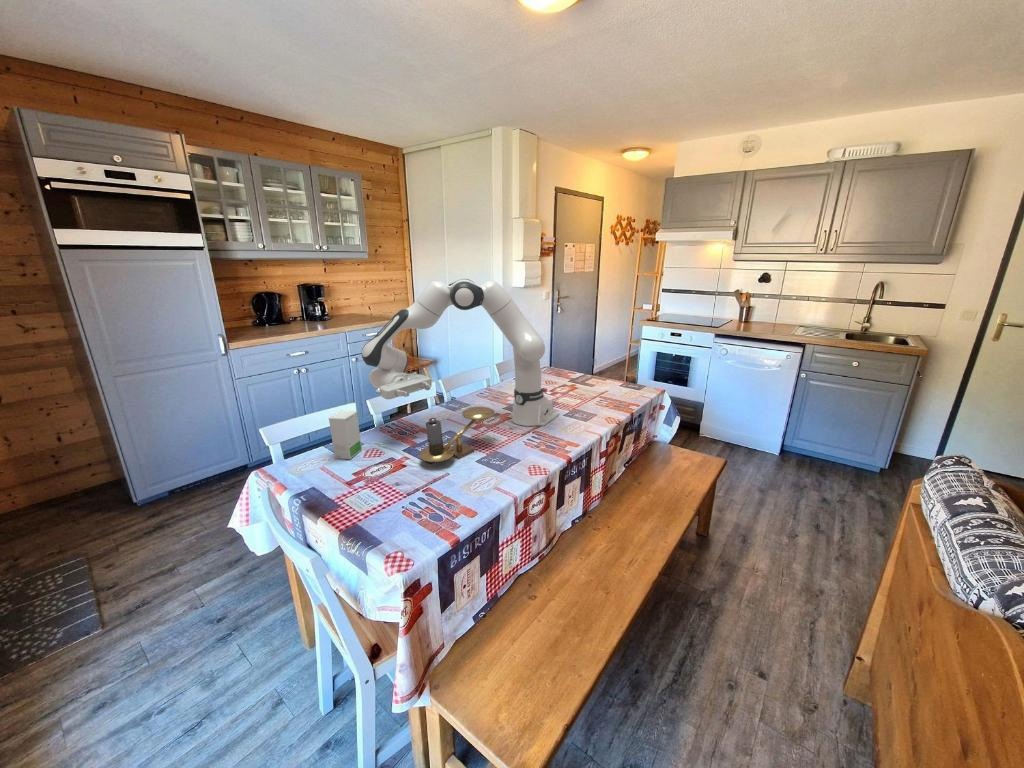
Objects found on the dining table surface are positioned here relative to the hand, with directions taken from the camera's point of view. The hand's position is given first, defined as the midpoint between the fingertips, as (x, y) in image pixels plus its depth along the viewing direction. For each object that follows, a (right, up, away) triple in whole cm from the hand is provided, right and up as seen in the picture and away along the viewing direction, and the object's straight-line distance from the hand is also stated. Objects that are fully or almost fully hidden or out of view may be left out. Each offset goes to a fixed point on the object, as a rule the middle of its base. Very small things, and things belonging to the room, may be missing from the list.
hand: (418, 391), depth 150 cm
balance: (+15, -22, 0) cm, 27 cm away
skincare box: (-25, -23, -1) cm, 34 cm away
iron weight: (+8, -21, -8) cm, 24 cm away
